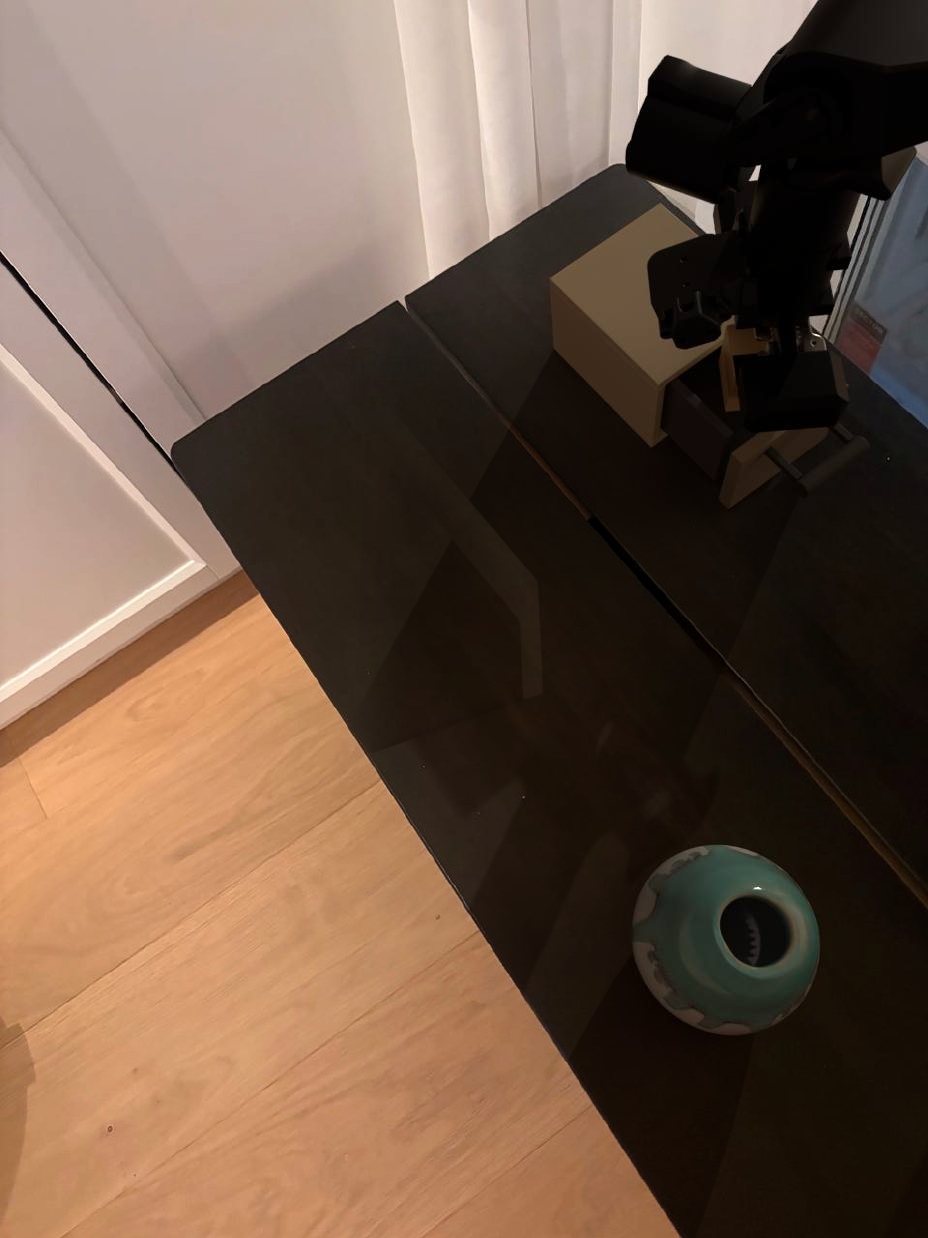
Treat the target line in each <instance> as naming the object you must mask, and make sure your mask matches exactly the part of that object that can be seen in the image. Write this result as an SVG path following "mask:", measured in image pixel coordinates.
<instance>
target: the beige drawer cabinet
mask: <svg viewBox="0 0 928 1238" xmlns="http://www.w3.org/2000/svg"><path fill="white" fill-rule="evenodd" d="M698 236H699V235H698V234H696V233H695V232H694V231H693V230H692V229H691V228H690V227H688V226H687V225H686V224H685V223H684V222H683V221H682V220H680V219H679V218H678V217H677V216H675V214H674V213H673V212H671V211H670V210H669V209H668V208H666V206H664V205H663V204H662V203H661V202H659V203H658V204H656V205H655V206H653V207H652V208H651V209H649V210H647V211H646V212H644V213H643V214H641V215H640V216H638V217H637V218H636V219H634V220H633V221H631V222H629V224H627V225H626V226H624V227H622V228H621V229H620V230H618V231H617V232H615V233H614V234H612V235H611V236H609V237H608V238H607V239H604V241H602V242H601V243H599V244H598V245H596V246H595V247H593V248H592V249H590V250H589V251H588V252H586V253H584V254H583V255H582V256H580V257H579V258H578V259H576V260H574V261H573V262H572V263H570V264H569V265H567V266H566V267H564V268H563V269H561V270H559V272H557V273H555V274H554V275H552V276H551V277H550V278H549V279H548V280H549V294H550V297H549V298H550V311H551V327H552V328H551V329H552V345H553V346H552V347H553V350H554V351H556V353H558V355H559V356H560V357H561V358H563V360H564V361H565V362H566V363H567V364H568V365H569V366H570V367H571V368H572V369H573V370H574V371H575V372H576V373H577V374H578V375H579V376H580V377H581V378H582V379H583V380H584V381H585V382H586V383H587V384H588V385H589V386H590V387H591V388H592V389H593V390H594V392H596V393H597V394H598V395H599V396H600V397H601V398H602V400H604V402H605V403H607V404H608V405H609V407H611V408H612V409H613V410H614V412H615V413H616V414H618V416H620V418H621V419H622V420H624V422H625V423H626V424H627V425H628V426H629V427H630V428H631V429H632V430H633V431H634V432H635V433H637V435H638V436H639V437H640V438H641V440H643V441H644V442H645V443H646V444H647V445H648V446H649V447H650V448H653V447H655V446H656V445H657V444H658V443H659V442H661V441H662V440H664V439H665V438H666V437H669V436H668V435H667V434H666V433H665V432H664V431H663V430H662V429H661V428H660V423H661V416H662V408H663V400H664V392H665V385H666V384H668V383H669V382H671V381H672V380H673V379H675V378H676V377H678V376H679V375H680V374H682V373H683V372H685V371H686V370H687V369H689V368H690V367H692V366H693V365H695V364H696V363H697V362H699V361H700V360H702V359H703V358H704V357H706V356H707V355H709V354H710V353H711V352H713V351H714V350H716V349H717V348H718V347H720V346H721V345H722V344H723V340H724V335H725V330H726V326H727V325H729V324H735V322H734V316H735V315H732V317H731V319H729V320H728V321H725V322H724V323H722V325H721V333H722V334H721V336H720V337H719V338H718V339H717V340H716V341H713V342H710V343H707V344H703V345H700V346H697V347H693V348H690V349H687V350H683V349H679V348H677V347H676V346H675V344H674V342H673V340H672V338H671V339H662V338H661V337H660V331H659V322H658V317H657V315H656V313H655V311H654V309H653V307H652V305H651V300H650V291H649V281H648V272H647V263H648V260H649V259H650V257H651V256H652V255H653V254H654V253H655V252H657V251H659V250H662V249H664V248H667V247H670V246H673V245H676V244H679V243H681V242H684V241H687V240H690V239H693V238H695V237H698Z"/></svg>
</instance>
